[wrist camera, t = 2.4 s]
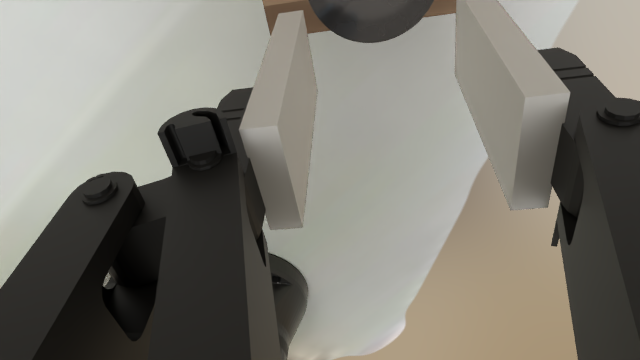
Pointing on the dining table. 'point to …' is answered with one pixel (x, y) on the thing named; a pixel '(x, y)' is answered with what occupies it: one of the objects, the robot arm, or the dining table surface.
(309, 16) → the wooden jar holder
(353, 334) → the dining table surface
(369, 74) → the dining table surface
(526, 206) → the robot arm
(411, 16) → the grey lid glass jar
